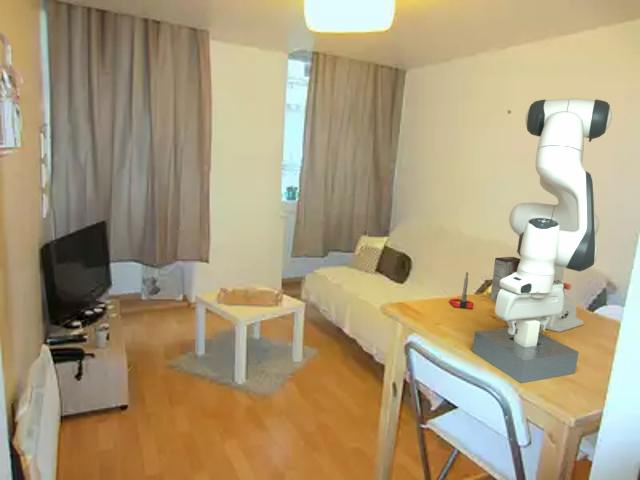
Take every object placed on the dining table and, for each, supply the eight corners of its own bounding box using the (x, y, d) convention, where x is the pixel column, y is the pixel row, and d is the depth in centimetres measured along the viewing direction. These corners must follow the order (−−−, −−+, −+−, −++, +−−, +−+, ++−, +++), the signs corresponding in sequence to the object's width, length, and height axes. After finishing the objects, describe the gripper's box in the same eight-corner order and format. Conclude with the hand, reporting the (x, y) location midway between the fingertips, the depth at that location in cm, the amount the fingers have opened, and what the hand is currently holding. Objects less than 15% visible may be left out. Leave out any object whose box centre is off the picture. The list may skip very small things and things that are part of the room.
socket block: (522, 344, 140) (525, 325, 139) (574, 373, 124) (578, 351, 123) (472, 351, 133) (474, 331, 132) (521, 383, 117) (524, 360, 116)
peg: (522, 358, 131) (528, 316, 129) (533, 364, 128) (540, 322, 125) (510, 359, 130) (517, 317, 127) (521, 366, 126) (528, 323, 124)
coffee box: (507, 296, 185) (513, 256, 182) (520, 302, 179) (527, 260, 176) (489, 298, 181) (495, 257, 178) (501, 304, 176) (507, 261, 172)
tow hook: (447, 300, 178) (450, 307, 169) (451, 266, 176) (455, 271, 167) (471, 303, 177) (475, 310, 168) (475, 268, 175) (480, 274, 166)
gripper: (554, 276, 131) (546, 323, 134) (494, 280, 123) (487, 331, 126) (574, 282, 125) (565, 332, 128) (512, 287, 117) (505, 340, 120)
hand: (526, 332), depth 127 cm, fingers open, 8 cm apart
